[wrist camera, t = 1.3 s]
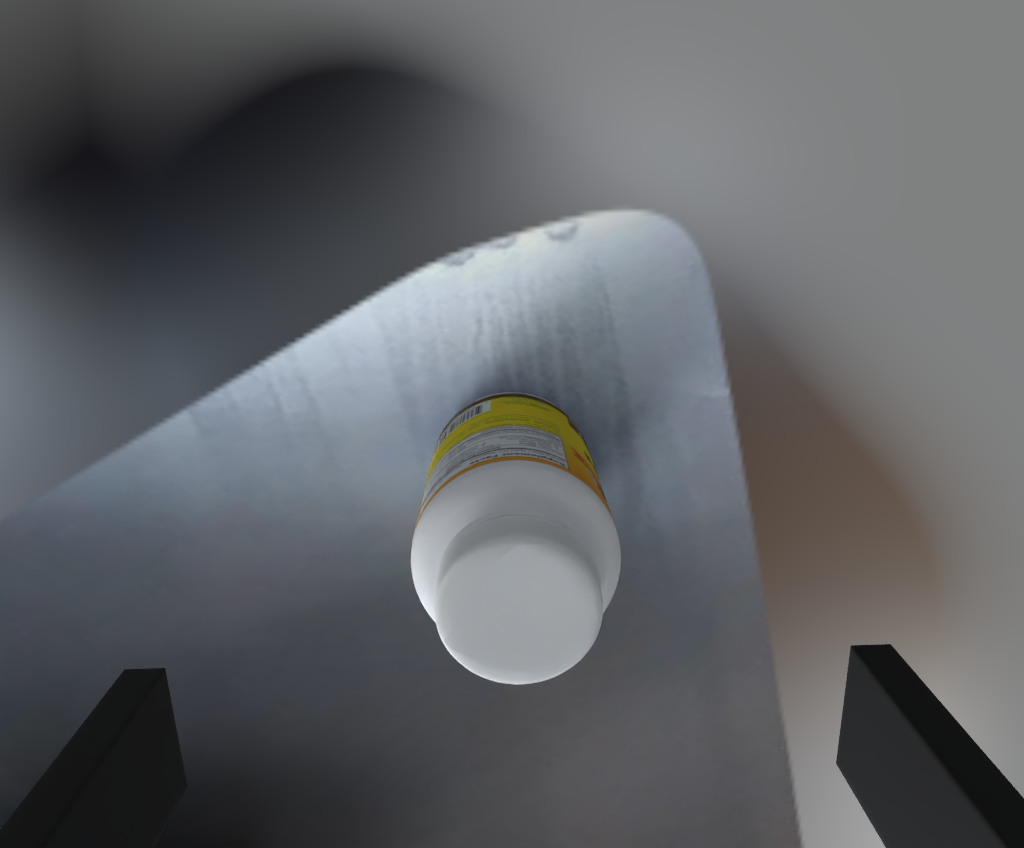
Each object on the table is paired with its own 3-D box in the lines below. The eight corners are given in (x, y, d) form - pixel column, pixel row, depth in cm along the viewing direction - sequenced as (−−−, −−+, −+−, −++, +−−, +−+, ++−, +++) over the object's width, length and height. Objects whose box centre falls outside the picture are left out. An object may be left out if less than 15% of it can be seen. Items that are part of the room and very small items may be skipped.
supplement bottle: (574, 540, 28) (613, 728, 19) (425, 520, 28) (386, 702, 18) (601, 397, 27) (660, 522, 17) (444, 375, 26) (411, 489, 17)
